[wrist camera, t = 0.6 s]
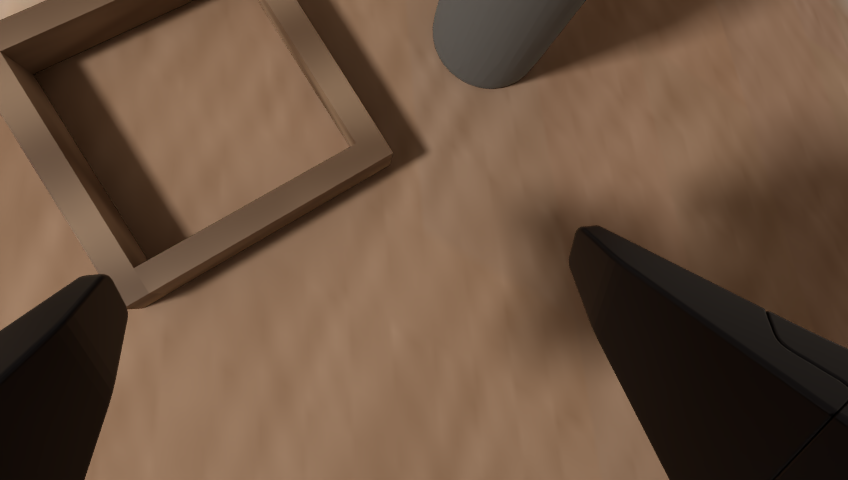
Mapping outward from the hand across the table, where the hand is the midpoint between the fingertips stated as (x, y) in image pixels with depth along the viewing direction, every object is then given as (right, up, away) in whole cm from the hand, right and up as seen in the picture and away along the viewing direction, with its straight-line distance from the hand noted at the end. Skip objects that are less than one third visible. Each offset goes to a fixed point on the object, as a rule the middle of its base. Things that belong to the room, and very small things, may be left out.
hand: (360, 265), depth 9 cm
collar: (-9, +6, +13) cm, 17 cm away
